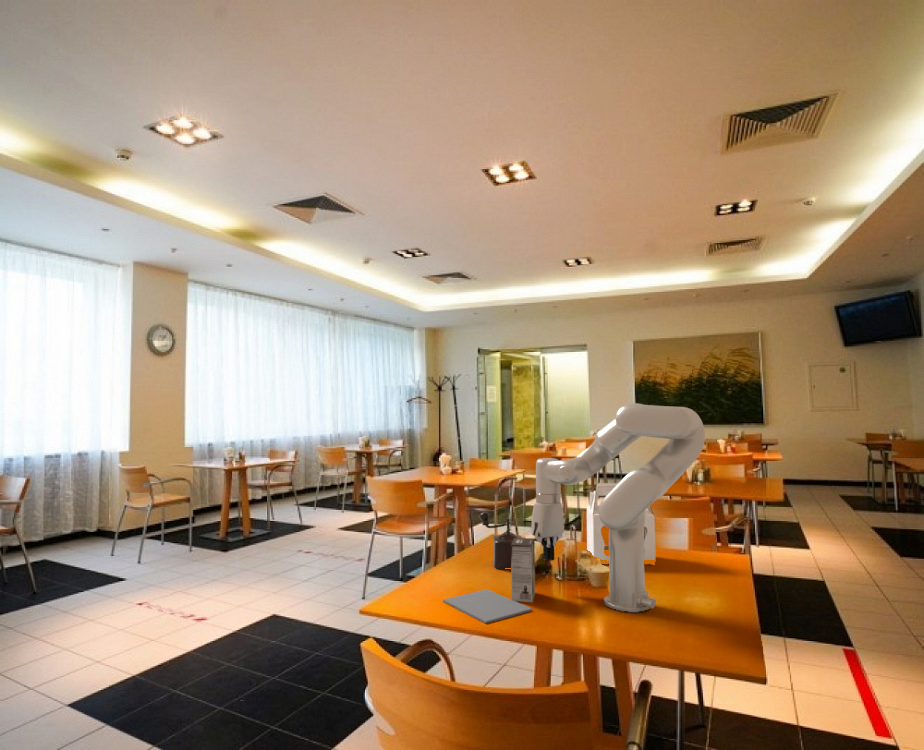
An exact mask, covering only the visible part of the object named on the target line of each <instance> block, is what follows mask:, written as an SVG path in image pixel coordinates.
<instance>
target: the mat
mask: <svg viewBox="0 0 924 750" xmlns="http://www.w3.org/2000/svg"><path fill="white" fill-rule="evenodd" d="M444 602H445V603H444ZM442 603H444V604H446V603H447V604H446V605H448V604H449V605H448V606H450V605H451V607H452V606H453V607H452V608H453V609H456V610H458V611H460V612H462V613H464V614H466V615H468V616H470V617H472V618H474V619H475V620H477V621H479V620H480V621H479V622H481V621H482V622H481V623H483V622H484V623H483V624H485V623H487V624H490V623H493V621H494V622H498V621H501V620H505V619H507V618H512V617H516V616H519V615H522V614H525V613H528V612H529V613H530V612H532V611H533V607H529V606H527V605H525V604H522V603H520V602H519V601H513V600H512V598H508V597H506V596H504V595H502V594H499V593H498V592H497V593H496V592H494V591H492V590H489V589H487V588H486V589H482V590H478V591H474V592H470V593H465V594H462V595H458V596H453V597H449V598H444V599H442ZM489 622H490V623H489Z"/></svg>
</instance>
